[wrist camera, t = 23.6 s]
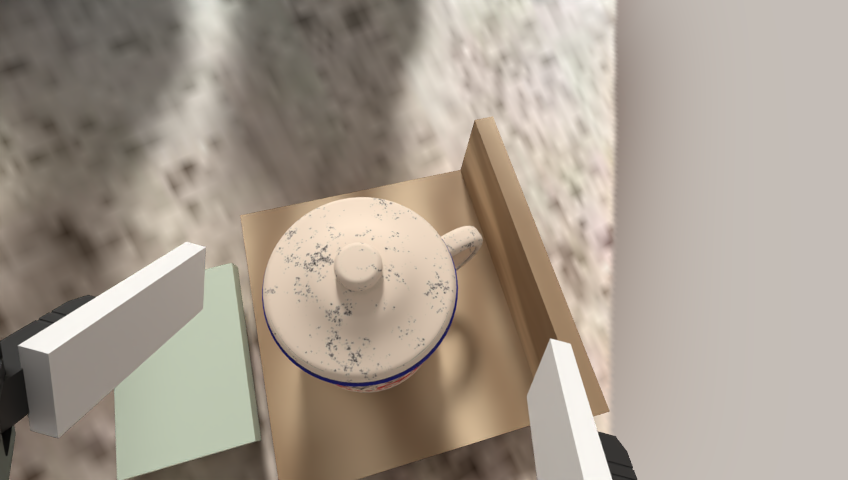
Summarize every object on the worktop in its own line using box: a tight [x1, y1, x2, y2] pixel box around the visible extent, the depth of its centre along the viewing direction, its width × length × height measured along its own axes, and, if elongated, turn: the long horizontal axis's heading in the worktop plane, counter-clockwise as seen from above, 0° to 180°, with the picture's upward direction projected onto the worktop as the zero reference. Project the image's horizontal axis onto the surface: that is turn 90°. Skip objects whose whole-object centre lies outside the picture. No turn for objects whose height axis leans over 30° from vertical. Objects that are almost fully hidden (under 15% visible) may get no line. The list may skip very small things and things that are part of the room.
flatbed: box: [240, 117, 609, 480], centre depth 28 cm, size 17×18×9 cm
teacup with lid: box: [262, 197, 483, 393], centre depth 24 cm, size 12×9×12 cm
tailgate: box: [114, 263, 261, 480], centre depth 28 cm, size 2×11×8 cm
